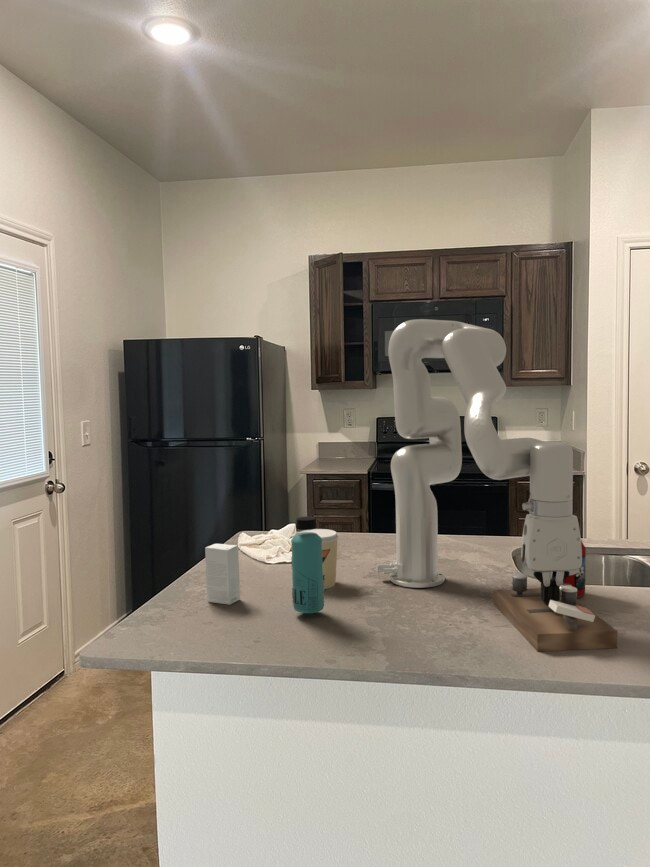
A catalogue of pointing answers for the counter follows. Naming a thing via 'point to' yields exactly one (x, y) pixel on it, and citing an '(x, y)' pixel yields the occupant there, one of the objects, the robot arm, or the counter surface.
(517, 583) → the lever grey
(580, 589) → the beverage can
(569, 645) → the console
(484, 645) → the counter surface
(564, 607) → the block
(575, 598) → the lever ivory
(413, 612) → the counter surface
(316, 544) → the beverage bottle
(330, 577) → the coffee cup
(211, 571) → the skincare box
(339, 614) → the counter surface
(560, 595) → the button
